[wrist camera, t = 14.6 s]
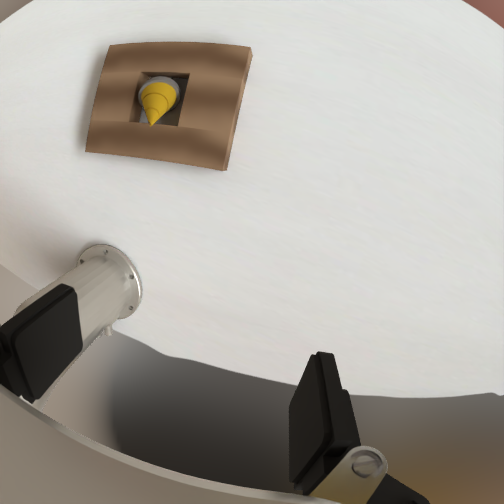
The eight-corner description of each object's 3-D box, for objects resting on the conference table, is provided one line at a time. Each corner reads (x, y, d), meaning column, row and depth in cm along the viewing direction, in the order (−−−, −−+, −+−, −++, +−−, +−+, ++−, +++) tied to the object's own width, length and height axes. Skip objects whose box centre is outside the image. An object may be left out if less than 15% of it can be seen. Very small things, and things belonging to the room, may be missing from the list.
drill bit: (190, 78, 32) (183, 120, 28) (168, 104, 35) (158, 149, 31) (157, 60, 29) (141, 99, 24) (137, 88, 32) (119, 132, 28)
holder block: (226, 170, 35) (222, 170, 32) (96, 151, 35) (85, 151, 33) (252, 55, 30) (250, 47, 27) (119, 51, 30) (109, 45, 28)
